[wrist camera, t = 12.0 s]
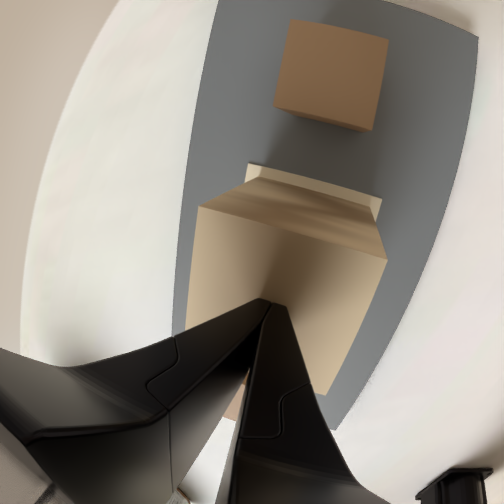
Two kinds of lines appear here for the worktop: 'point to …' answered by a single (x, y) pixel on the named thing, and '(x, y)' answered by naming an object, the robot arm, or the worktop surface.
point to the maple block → (289, 265)
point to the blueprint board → (334, 136)
